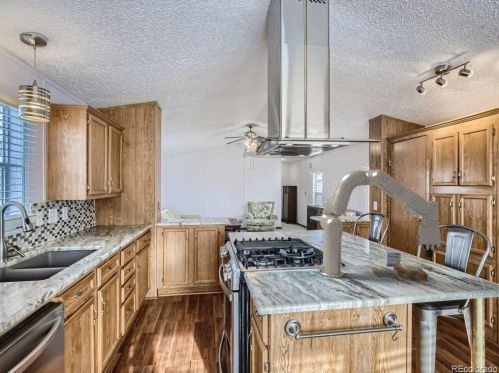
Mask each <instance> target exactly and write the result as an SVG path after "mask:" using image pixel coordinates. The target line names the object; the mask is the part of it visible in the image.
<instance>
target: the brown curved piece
mask: <svg viewBox="0 0 499 373" xmlns="http://www.w3.org/2000/svg"><path fill="white" fill-rule="evenodd" d="M392 270H393V272H394V273H395V274H396V275H397V276H398V277H399V279H401V280H408V281H410V280H411V281H416V282H417V281H419V282H428V274H429V273H428V272H426V271H425V270H423V269H422V268H420V267H419V271H410V270H405V269H404V268H403V267H402V266H401V263H400V264H396V263H394V267H392Z"/></svg>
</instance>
